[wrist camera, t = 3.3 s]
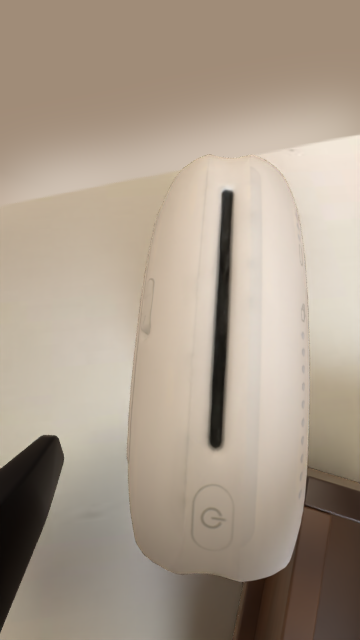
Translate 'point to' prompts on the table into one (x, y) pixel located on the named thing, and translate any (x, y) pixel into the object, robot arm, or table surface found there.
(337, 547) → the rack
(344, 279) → the table surface
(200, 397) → the photo printer
